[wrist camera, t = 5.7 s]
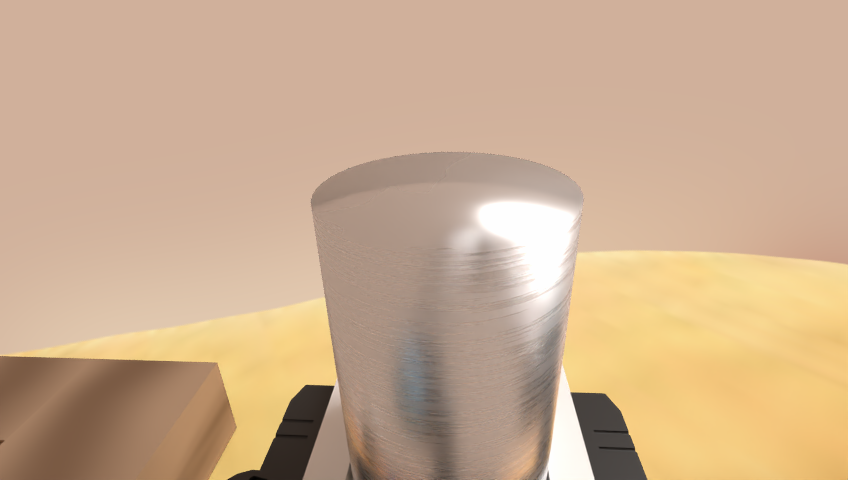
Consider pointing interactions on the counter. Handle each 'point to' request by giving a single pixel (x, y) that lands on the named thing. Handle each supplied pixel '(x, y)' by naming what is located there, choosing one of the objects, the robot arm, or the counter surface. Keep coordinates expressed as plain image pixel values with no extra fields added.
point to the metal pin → (448, 311)
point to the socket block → (111, 419)
